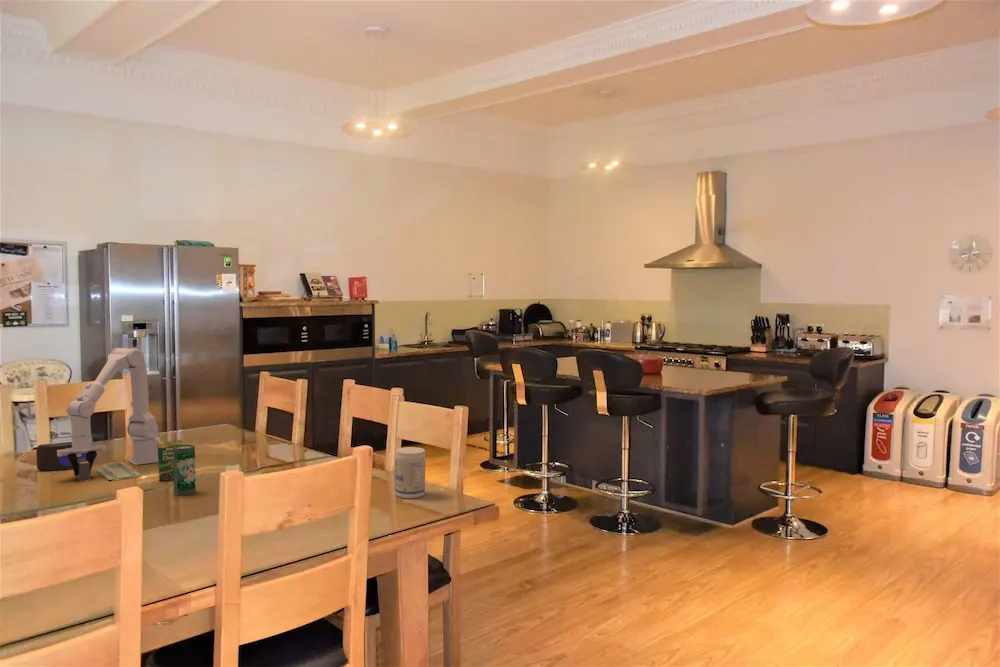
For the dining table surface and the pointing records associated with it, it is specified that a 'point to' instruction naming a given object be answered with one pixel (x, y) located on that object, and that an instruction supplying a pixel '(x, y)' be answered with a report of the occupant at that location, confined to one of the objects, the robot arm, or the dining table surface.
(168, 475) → the coffee box
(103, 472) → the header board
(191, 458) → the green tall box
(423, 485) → the supplement tub
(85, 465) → the brown block
